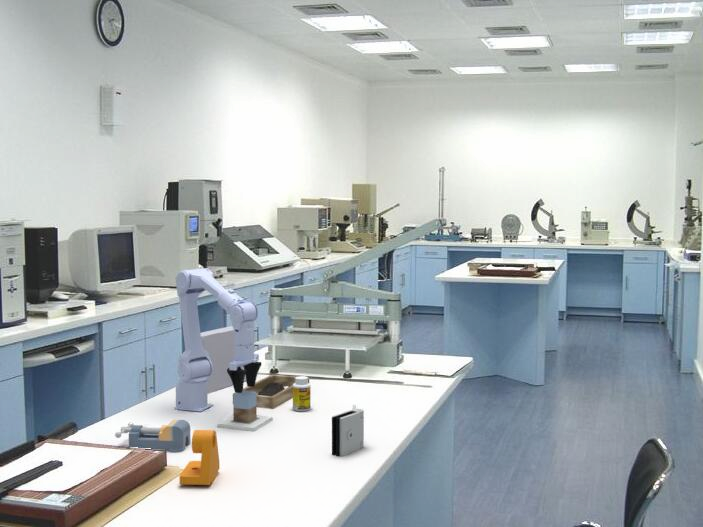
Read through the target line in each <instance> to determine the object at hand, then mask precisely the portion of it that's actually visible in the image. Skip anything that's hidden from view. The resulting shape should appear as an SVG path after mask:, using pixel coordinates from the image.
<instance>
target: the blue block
mask: <svg viewBox="0 0 703 527" xmlns="http://www.w3.org/2000/svg"><path fill="white" fill-rule="evenodd" d="M234 393H235V392H234ZM232 405H233V407H232V408H240V409H250V408H252V407H254V406H256V405H257V392H253V391H242V393H235V394H233V393H232Z"/></svg>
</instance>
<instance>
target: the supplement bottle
mask: <svg viewBox="0 0 703 527" xmlns="http://www.w3.org/2000/svg"><path fill="white" fill-rule="evenodd" d="M295 377H296V378H295V383H294V384H293V398H292V409H293V410H294V411H295V412H307V411H309V410H310V409H311V383H310V382H309V383H308V378H309V377H308V376H304V375H303V376H302V375H301V376H295Z"/></svg>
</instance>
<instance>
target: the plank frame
mask: <svg viewBox="0 0 703 527" xmlns="http://www.w3.org/2000/svg"><path fill="white" fill-rule="evenodd" d="M296 377H297V376H293V375H282V374H270V375H268V376H266V377H264V378H262V379H260V380H258V381H256V382H255V386H254V387H249V386H246V387H243V391H253V392H257V394H258V393H259V392H260V391H262V390H263V389H264V387H266V386H267V385H268V384H269V383H271V382H278V383H280V384H282V385H283V387H286V386H290V387H286V388H285V389H284V390H282V391H281V392H279V393H277V394H275V395H273V396H262V395H257V405H256V408H264V409H266V408H267V409H273V408H274V409H275V408H277V407H279V406H281V405H282V404H284V403H286V402H288V401H289V400H291V399H293V398H292V397H293V384H294V383H295V378H296ZM308 383H309V384H310V377H308ZM233 394H235V392H233V393H232V395H233ZM290 398H291V399H290ZM285 401H286V402H285ZM283 402H284V403H283Z"/></svg>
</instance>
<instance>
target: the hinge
mask: <svg viewBox="0 0 703 527" xmlns="http://www.w3.org/2000/svg"><path fill="white" fill-rule="evenodd" d="M356 407H357V405H356V404H353V405H352V408H351V409H350V410H347V411H344V412H341V413H337V414H335V415H332V416H331V455H332V456H336V457H344V456H346V455H349V454H351V453H353V452H356V451H359V450H361V449H362V448H364V443H365V442H364V438H365V431H364V428H365V427H364V425H365V420H364V419H365V417H364V416H365V415H364V411H365V410H364V409H363V408H356Z"/></svg>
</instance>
